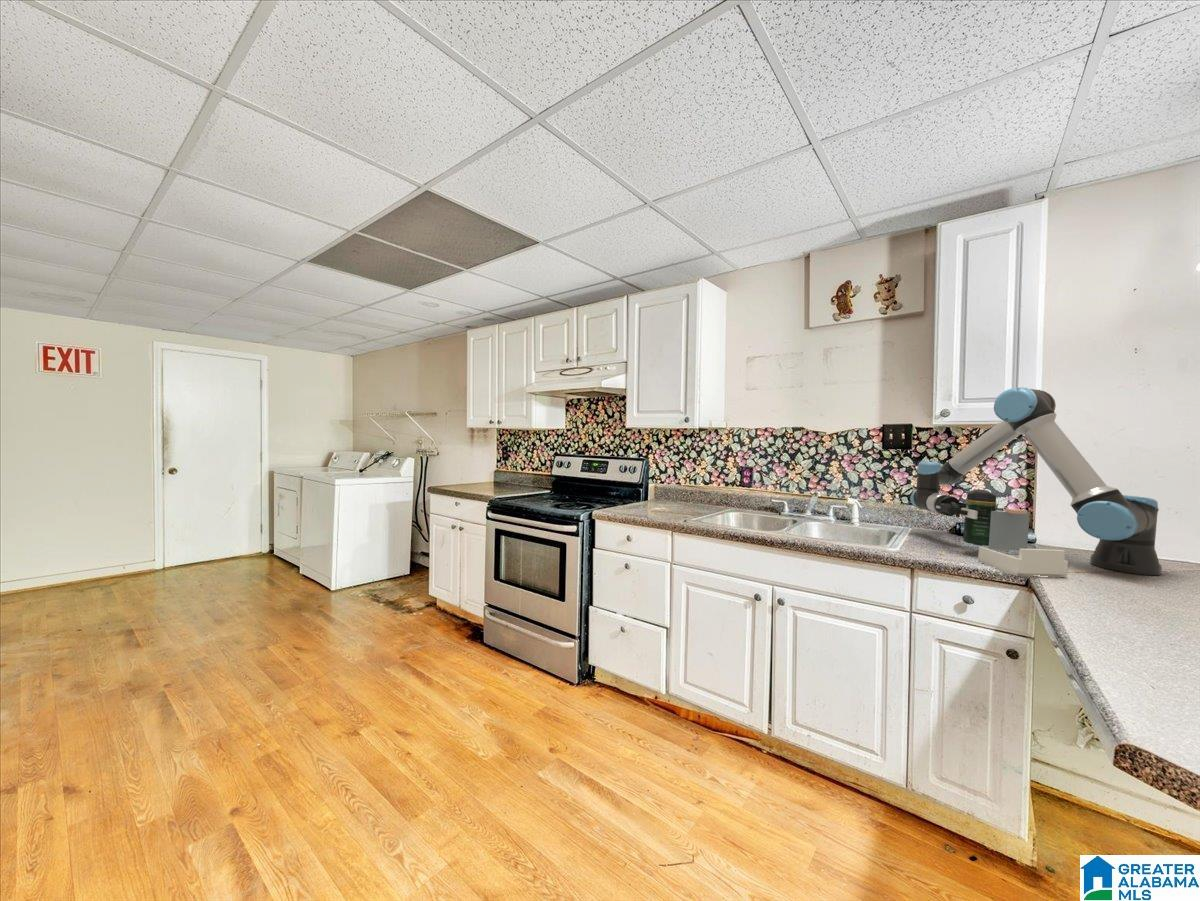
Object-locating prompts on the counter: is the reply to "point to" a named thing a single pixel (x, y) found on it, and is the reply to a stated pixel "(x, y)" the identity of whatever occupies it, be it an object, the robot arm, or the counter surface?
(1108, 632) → the counter surface
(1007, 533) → the pusher
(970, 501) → the coffee jar
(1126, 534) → the robot arm
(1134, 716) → the counter surface
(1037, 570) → the tray
